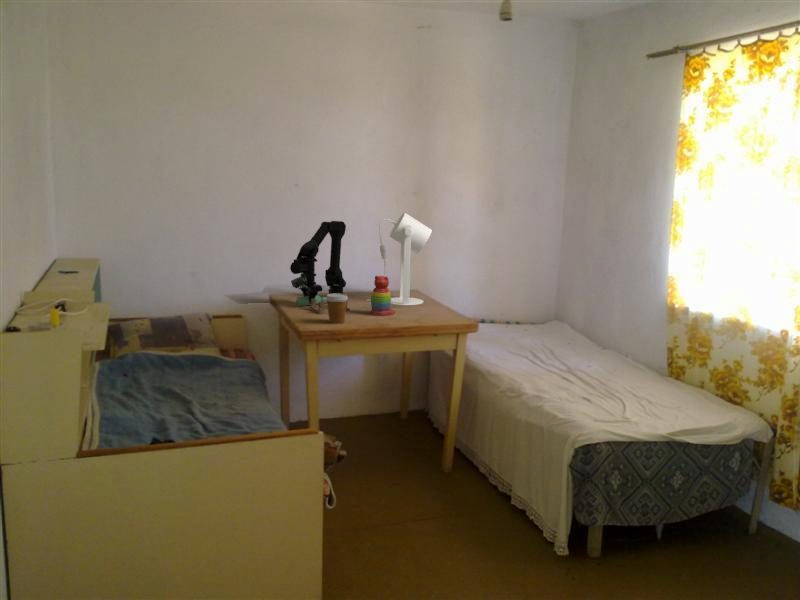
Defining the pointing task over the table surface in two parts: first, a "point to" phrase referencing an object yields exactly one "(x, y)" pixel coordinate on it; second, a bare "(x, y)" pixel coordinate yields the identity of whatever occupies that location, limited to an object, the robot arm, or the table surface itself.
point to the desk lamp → (406, 252)
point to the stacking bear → (381, 297)
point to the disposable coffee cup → (336, 307)
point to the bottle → (305, 300)
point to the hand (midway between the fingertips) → (308, 303)
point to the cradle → (320, 307)
